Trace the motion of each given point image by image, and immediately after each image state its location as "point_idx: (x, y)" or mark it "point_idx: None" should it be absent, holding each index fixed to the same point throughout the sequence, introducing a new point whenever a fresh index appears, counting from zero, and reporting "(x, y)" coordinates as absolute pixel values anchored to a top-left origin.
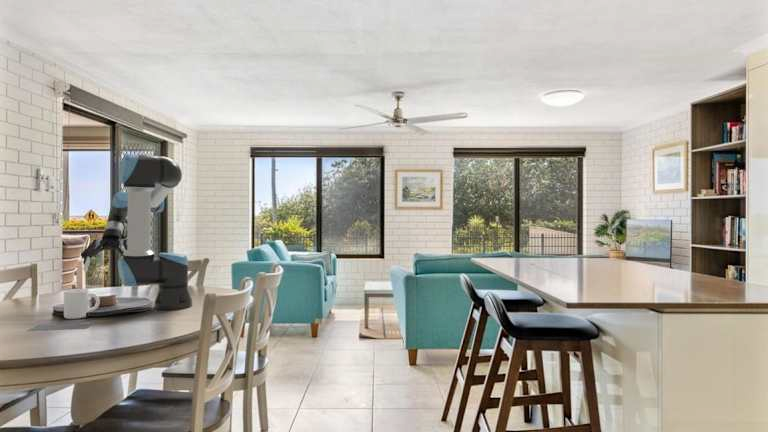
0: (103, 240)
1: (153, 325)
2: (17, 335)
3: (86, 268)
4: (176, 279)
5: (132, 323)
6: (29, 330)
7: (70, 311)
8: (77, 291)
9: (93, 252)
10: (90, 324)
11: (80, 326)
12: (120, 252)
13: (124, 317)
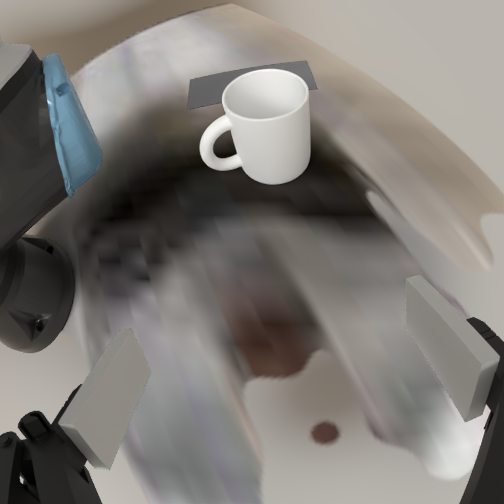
0: None
1: None
2: (298, 45)
3: (412, 307)
4: None
5: (110, 121)
6: (301, 62)
7: (272, 117)
8: (282, 122)
9: (487, 448)
10: (193, 100)
11: (208, 86)
12: (65, 484)
13: (133, 160)
